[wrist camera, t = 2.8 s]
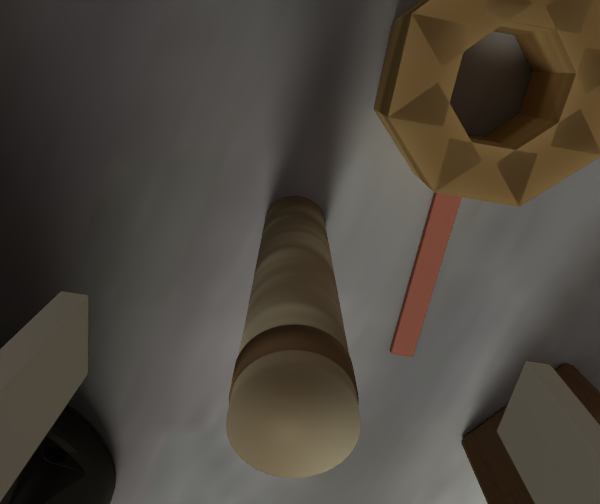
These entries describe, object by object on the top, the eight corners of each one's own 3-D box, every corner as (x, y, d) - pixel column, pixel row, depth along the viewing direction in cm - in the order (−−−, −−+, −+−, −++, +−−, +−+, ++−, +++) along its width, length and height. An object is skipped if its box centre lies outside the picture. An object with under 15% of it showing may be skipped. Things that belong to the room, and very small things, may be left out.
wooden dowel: (259, 248, 27) (217, 471, 12) (268, 190, 26) (232, 360, 11) (319, 258, 28) (347, 486, 13) (330, 200, 26) (377, 379, 11)
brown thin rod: (411, 353, 30) (412, 356, 30) (389, 350, 30) (391, 353, 30) (462, 185, 26) (464, 187, 26) (437, 181, 26) (439, 183, 26)
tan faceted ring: (361, 164, 26) (373, 182, 22) (408, -48, 22) (431, -71, 18) (537, 194, 26) (577, 216, 23) (611, -7, 23) (673, -20, 19)
